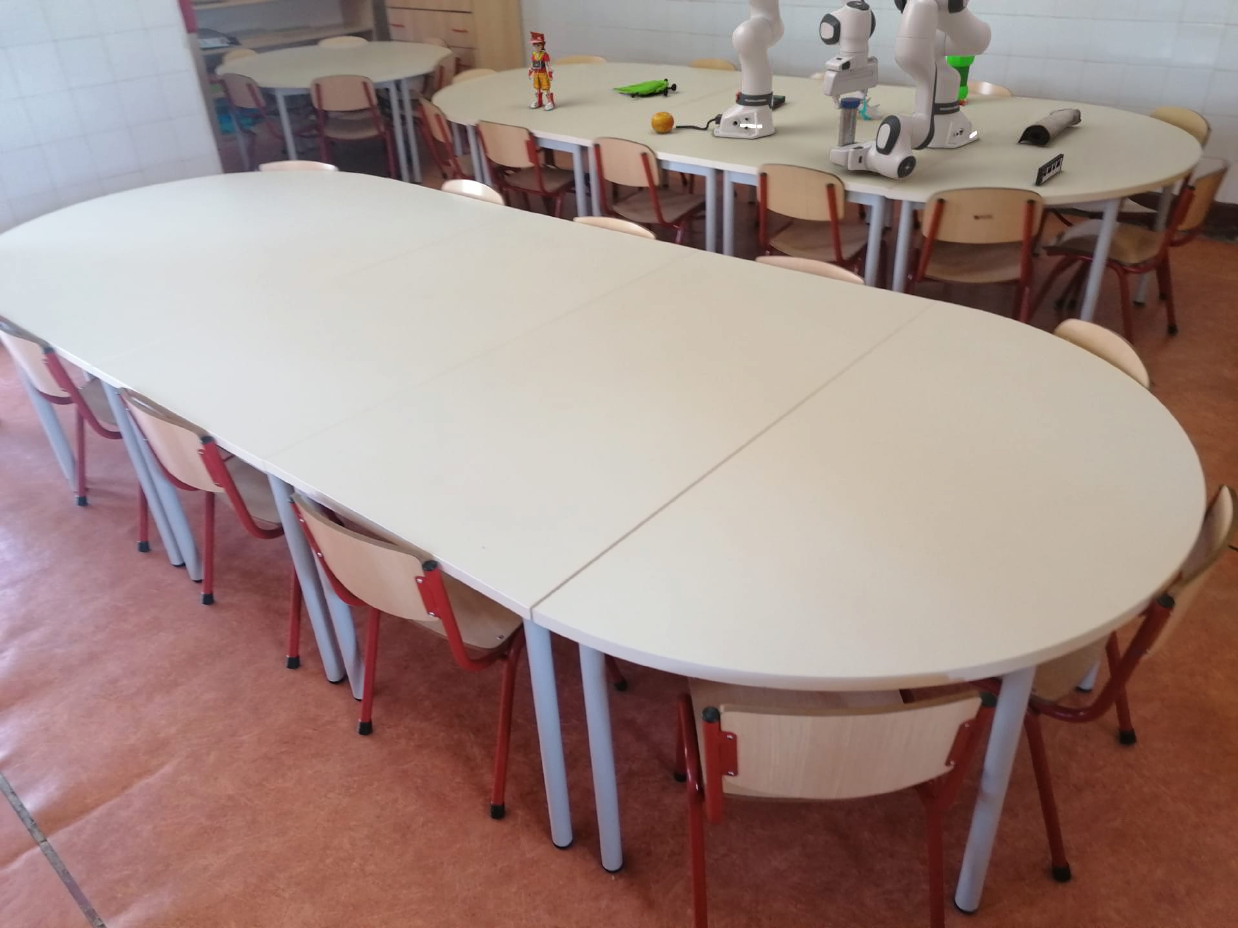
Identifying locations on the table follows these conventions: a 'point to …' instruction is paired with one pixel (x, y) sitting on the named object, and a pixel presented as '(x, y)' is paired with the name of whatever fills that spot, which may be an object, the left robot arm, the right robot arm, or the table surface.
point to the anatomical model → (868, 108)
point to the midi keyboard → (1049, 169)
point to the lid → (850, 102)
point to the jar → (847, 126)
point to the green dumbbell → (961, 72)
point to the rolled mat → (1050, 126)
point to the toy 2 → (648, 88)
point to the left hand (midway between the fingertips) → (849, 106)
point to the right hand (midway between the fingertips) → (844, 146)
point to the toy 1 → (541, 71)
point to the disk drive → (778, 100)
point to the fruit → (662, 122)
